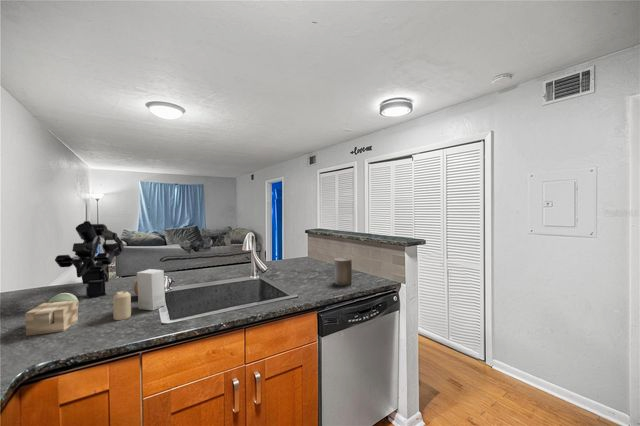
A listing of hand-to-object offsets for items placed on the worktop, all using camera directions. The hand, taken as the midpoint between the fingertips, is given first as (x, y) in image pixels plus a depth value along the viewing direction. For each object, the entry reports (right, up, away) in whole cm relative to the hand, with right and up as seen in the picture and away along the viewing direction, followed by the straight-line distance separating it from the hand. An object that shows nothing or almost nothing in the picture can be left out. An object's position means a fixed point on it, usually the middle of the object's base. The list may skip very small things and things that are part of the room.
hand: (78, 276), depth 116 cm
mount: (+6, -14, -17) cm, 23 cm away
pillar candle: (+113, -13, +38) cm, 120 cm away
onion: (+19, -13, +14) cm, 27 cm away
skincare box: (+30, -13, +1) cm, 32 cm away
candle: (+25, -14, -9) cm, 29 cm away
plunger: (+6, -13, -17) cm, 22 cm away
